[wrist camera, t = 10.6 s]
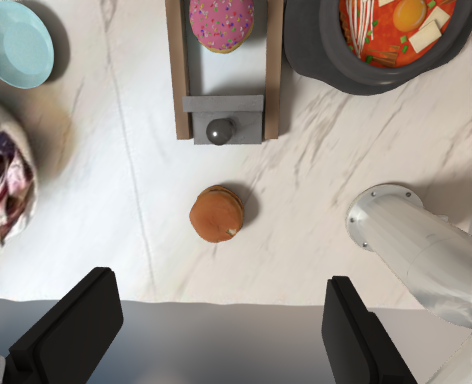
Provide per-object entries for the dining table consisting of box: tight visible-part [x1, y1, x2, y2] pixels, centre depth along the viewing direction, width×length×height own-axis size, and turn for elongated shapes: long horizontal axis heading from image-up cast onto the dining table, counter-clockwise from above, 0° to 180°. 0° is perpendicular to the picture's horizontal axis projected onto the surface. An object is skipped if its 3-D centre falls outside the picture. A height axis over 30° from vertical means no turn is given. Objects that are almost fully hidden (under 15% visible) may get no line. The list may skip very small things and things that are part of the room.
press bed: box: [165, 0, 283, 140], centre depth 33 cm, size 16×24×6 cm, turn 1°
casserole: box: [282, 0, 472, 96], centre depth 30 cm, size 25×19×8 cm
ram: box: [182, 95, 263, 145], centre depth 34 cm, size 11×7×10 cm, turn 91°
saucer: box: [0, 0, 54, 89], centre depth 37 cm, size 12×12×2 cm
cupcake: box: [189, 0, 254, 54], centre depth 30 cm, size 9×8×12 cm
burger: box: [189, 186, 244, 243], centre depth 42 cm, size 10×9×5 cm
